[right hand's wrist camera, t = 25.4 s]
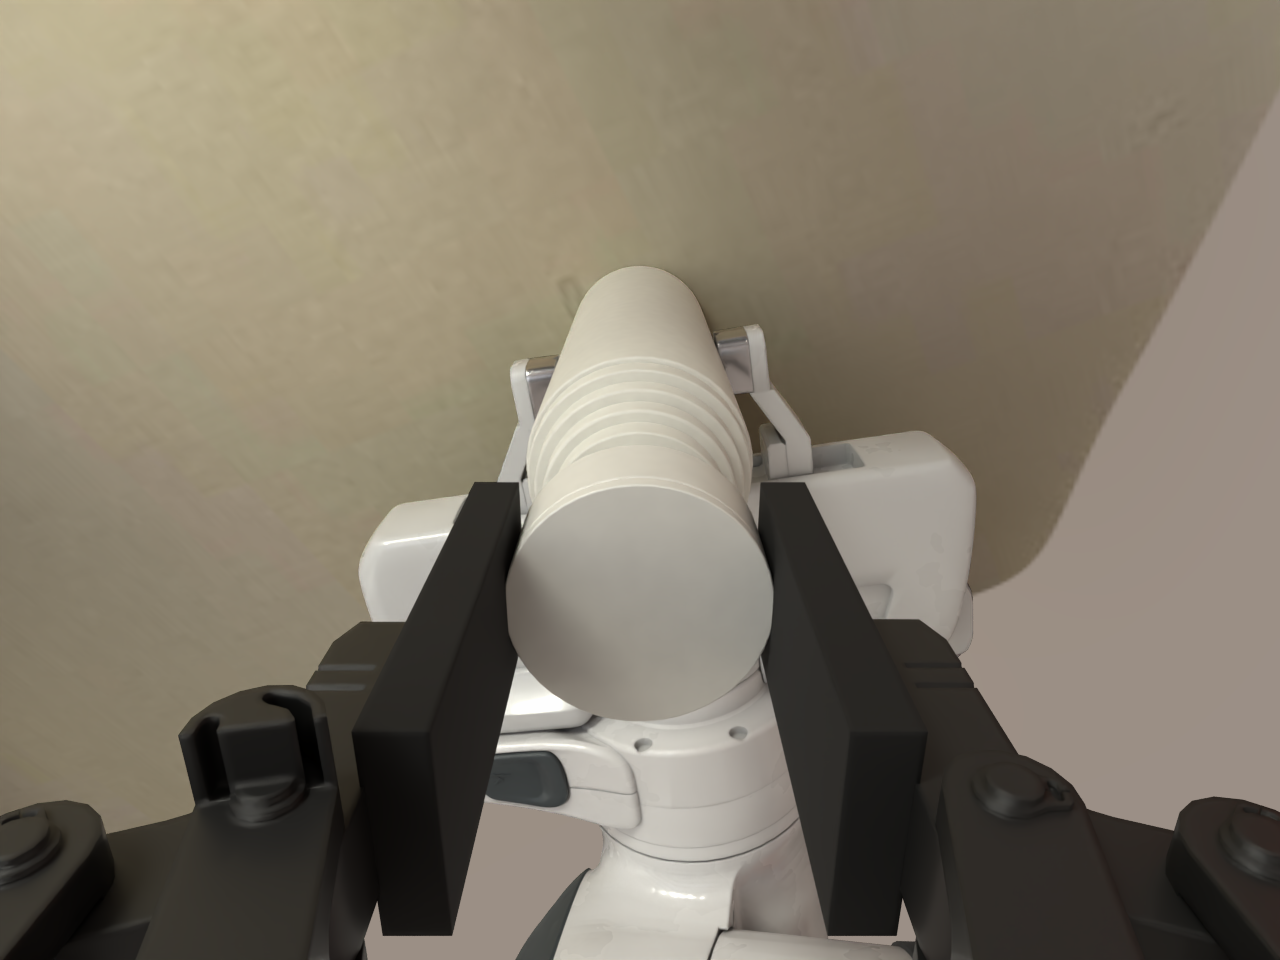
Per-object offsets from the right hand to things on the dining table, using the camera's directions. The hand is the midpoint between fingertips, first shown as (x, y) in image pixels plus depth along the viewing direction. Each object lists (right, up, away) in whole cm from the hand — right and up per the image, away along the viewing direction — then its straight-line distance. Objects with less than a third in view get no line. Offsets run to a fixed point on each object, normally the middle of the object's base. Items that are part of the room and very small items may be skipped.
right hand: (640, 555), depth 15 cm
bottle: (0, +7, +18) cm, 19 cm away
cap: (0, -1, -1) cm, 2 cm away
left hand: (0, +6, +12) cm, 13 cm away
